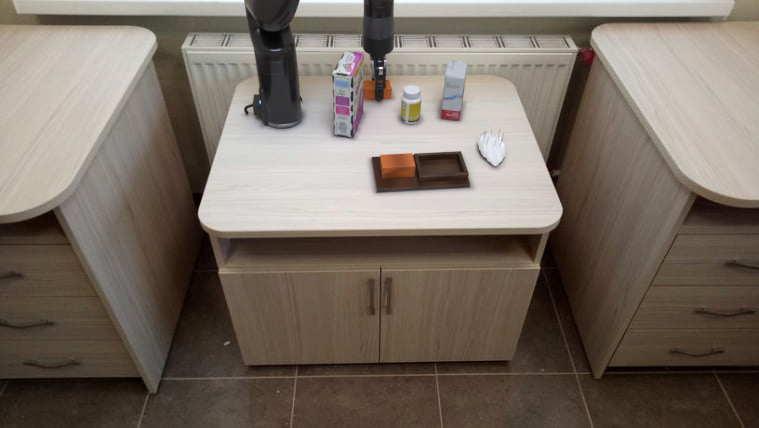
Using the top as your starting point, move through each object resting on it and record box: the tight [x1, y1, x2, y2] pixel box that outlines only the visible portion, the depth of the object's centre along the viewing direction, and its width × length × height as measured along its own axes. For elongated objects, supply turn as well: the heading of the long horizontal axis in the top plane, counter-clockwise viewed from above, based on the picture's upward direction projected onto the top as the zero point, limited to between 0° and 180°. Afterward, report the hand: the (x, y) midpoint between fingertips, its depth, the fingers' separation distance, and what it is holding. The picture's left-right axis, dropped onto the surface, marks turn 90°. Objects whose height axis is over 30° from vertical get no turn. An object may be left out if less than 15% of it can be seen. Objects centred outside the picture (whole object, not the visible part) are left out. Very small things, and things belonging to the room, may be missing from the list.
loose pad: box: [363, 79, 392, 101], centre depth 141 cm, size 7×4×3 cm, turn 96°
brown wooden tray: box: [371, 150, 471, 194], centre depth 117 cm, size 20×11×4 cm, turn 96°
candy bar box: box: [331, 50, 365, 139], centre depth 126 cm, size 11×5×16 cm, turn 168°
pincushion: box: [477, 129, 507, 167], centre depth 123 cm, size 12×6×6 cm, turn 1°
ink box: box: [440, 59, 468, 121], centre depth 133 cm, size 9×5×12 cm, turn 168°
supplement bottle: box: [400, 84, 422, 125], centre depth 131 cm, size 5×5×8 cm
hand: (377, 91), depth 141 cm, fingers open, 7 cm apart
